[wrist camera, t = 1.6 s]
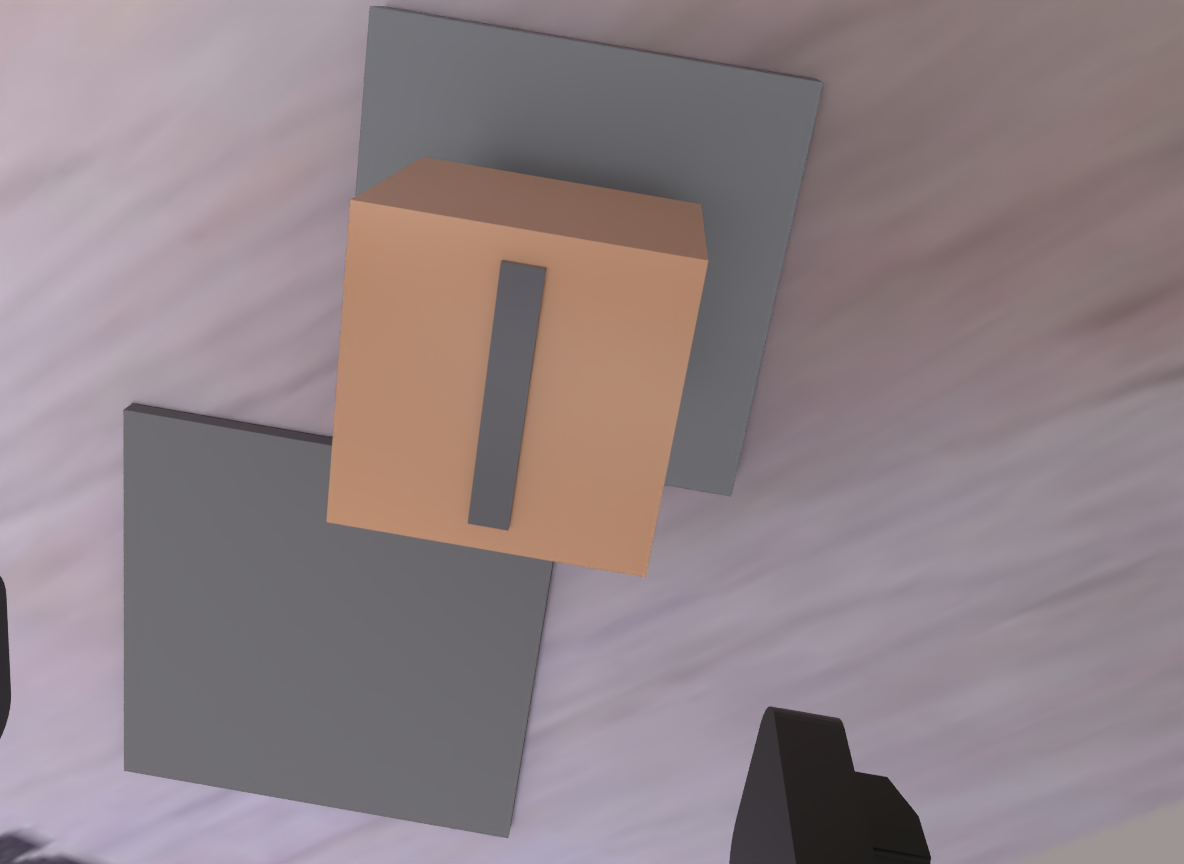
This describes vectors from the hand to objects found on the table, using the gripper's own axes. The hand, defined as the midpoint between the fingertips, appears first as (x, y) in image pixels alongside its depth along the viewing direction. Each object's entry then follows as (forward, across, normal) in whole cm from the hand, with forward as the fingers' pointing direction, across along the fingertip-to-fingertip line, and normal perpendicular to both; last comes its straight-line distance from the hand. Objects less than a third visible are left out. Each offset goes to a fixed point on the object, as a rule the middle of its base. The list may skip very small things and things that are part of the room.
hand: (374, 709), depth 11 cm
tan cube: (+16, 0, 0) cm, 16 cm away
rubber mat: (+22, +6, +14) cm, 27 cm away
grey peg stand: (+22, 0, 0) cm, 22 cm away
